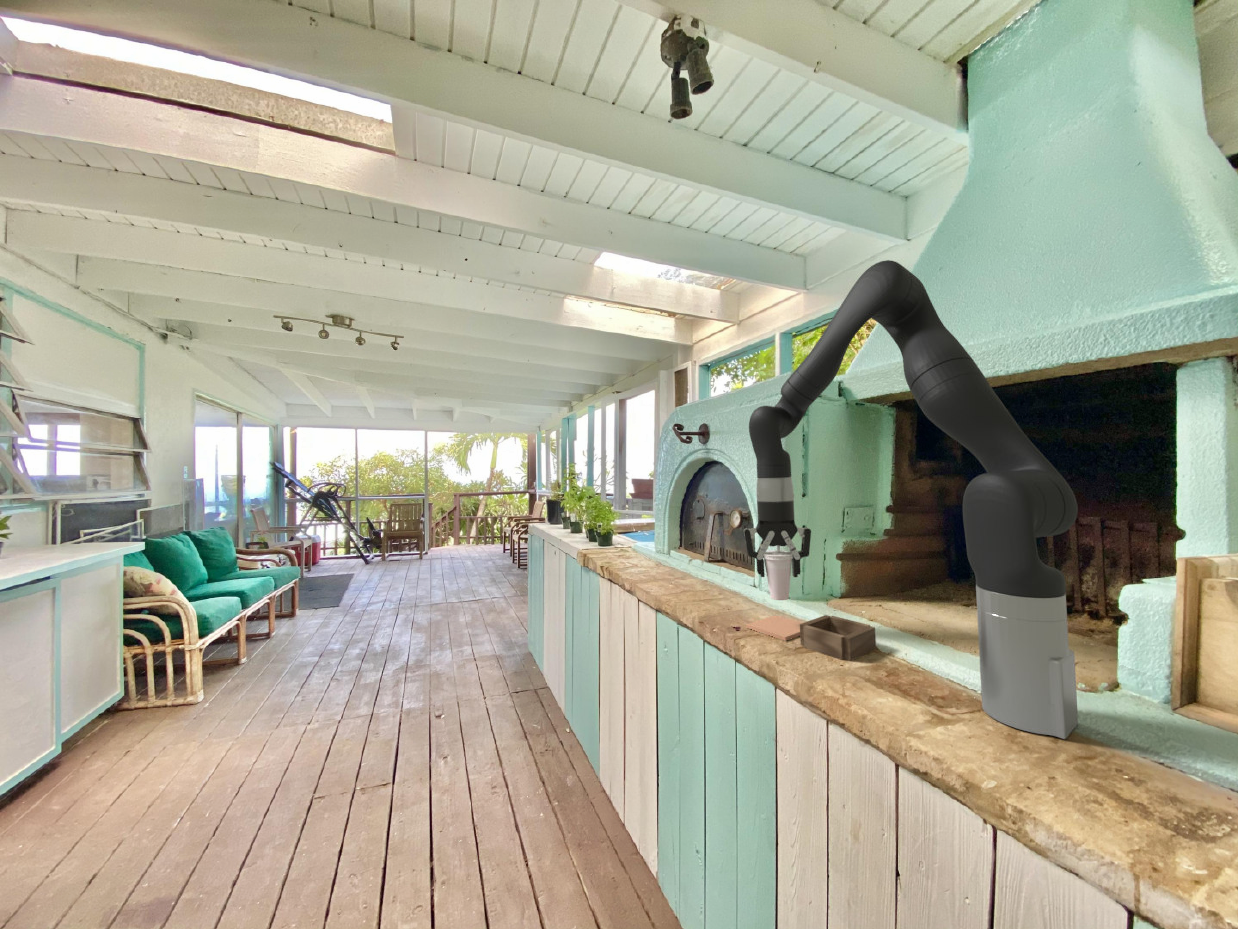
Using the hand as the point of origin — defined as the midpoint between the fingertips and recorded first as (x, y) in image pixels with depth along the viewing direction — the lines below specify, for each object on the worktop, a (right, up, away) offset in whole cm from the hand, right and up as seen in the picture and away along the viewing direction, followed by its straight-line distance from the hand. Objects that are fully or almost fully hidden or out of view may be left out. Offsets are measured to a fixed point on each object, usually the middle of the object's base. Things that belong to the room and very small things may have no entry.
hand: (778, 576), depth 100 cm
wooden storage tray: (+8, -11, -11) cm, 17 cm away
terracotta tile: (0, -11, 0) cm, 11 cm away
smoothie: (0, -5, 0) cm, 5 cm away
